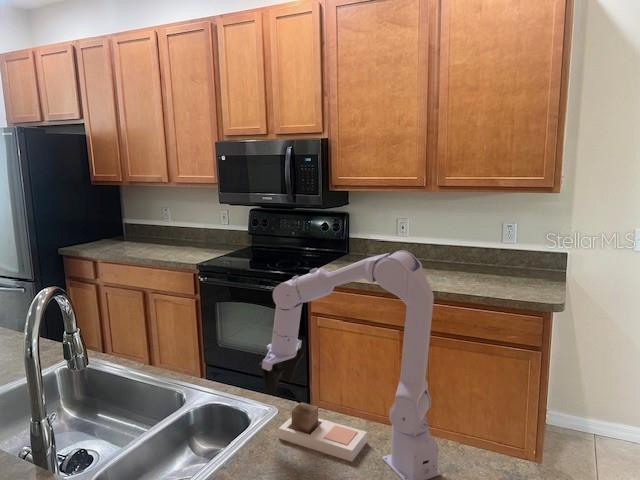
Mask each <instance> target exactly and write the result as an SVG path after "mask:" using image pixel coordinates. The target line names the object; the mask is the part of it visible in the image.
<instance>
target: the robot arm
mask: <svg viewBox="0 0 640 480" xmlns="http://www.w3.org/2000/svg"><path fill="white" fill-rule="evenodd" d="M362 279H364V280H366V281H368V282H369V283H371V284H373V283H376V284H378V286H379V287H381V288H382V289H384V290H386V291H387V292H388V293H391V294H392V295H394V296H396V297H398V298H399V300H401V302H403V303H404V305H405V306H406V309H405V319H404V331H403V342H402V353H401V364H400V365H401V366H400V375H399V381H398V386H397V389H396V392H395V396H394V402H393V404H392V406H390V409H389V412H388V419H389V422H390V424H391V441H390V442H391V443H390V444H391V445H390V446H391V447H390V449H391V450H390V454H387V455H383V456H381V457H382V460H383V461H384V463H385V464H387V466H388V467H389V468H390V469H391V470H392V471H393V472H394V473H395V474H397V476H398V477H399V478H400V479H401V480H430V479H432V478H435V477H438V476H440V475H441V474H442V473H441V471H440V470H439V469H438V465H439V464H438V463H439V462H438V461H439V460H438V458H439V446H438V443H437V441H436V440H435V438H433V436H432V434H431V433H430V430H429V422H428V418H427V416H426V414H427V413H428V411H429V409H430V408H431V405H432V404H431V403H432V399H431V396H430V393H429V383H428V381H427V380H426V378H427V372H428V371H427V370H428V369H427V368H428V360H429V359H428V358H429V350H430V340H431V332H432V331H431V329H432V320H433V319H432V318H433V308H434V301H435V300H434V299H435V297H434V292H433V290H432V287H431V285H430V284H429V281H428V279H427V277H426V274H425V272H424V269H423V264H422V262H421V261H420V260H419V259H418V258H416V257H415V255H414V254H412V253H411V252H409V251H407V250H396V251H394V252H393V253H392V254H390V252H389V253H388V252H387V253H384V254H378V255H375V256H374V255H373V256H370V257H367V258H364V259H361V260H359V261H357V262H354V263H351V264H349V265H346V266H343V267H341V268H338V269H337V270H333V271H329V270H327V269H324V268H320V269H319V268H318V267H315V268H312V269H311V270H309V273H306V274H303V275H301V276H299V275H295V276H293V277H292V278H290V279H289V280H287V281H284V282H281V283H279V284H278V285H276V286H275V287H274V289H273V291H272V299H273V303H274V304H275V311H274V312H275V313H274V320H273V321H274V322H273V329H272V335H271V336H272V337H271V343H269V344H267V345H266V350H268V352H267V353H266V356H265V358H264V359H262V361H261V362H259V363H258V369H259V371H260V374H261V375H262V379H263V383H264V390H265V393H266V394H268V395H270V396H274V395H275V394H276V393H277V389H278V385H279V382H280V378H281V377H282V378H281V379H282V380H285V381H287V382H292V379H293V377H294V375H295V372H296V369H297V366H298V365H299V363H300V361H301V360H302V358H303V357H304V354H305V353H304V351H301V350H300V349H301V348H302V340H300V339H298V337H299V330H300V325H301V324H300V322H301V315H302V307H303V303H308V302H311V301H314V300H317V299H321V298H324V297H326V296H330V295H331V294H332V293H333V291H334V289H335V287H338V286H342V285H344V284H349V283H351V282H355V281H357V280H362ZM278 363H281V367H279V365H278Z"/></svg>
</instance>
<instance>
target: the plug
mask: <svg viewBox="0 0 640 480" xmlns="http://www.w3.org/2000/svg"><path fill="white" fill-rule="evenodd" d="M291 417H292V429H293V430H296V431H299V432H302V433H306V434H309V435H310V434H311V433H312V432H313V431H314V430H315V429H316V428H317V427H318V418H319V406H317V405H314V404H309V403H305V402H300V403H299V404H298V405H297V406H295V407H294V408H293V409H292V410H291Z"/></svg>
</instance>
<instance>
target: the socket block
mask: <svg viewBox="0 0 640 480" xmlns="http://www.w3.org/2000/svg"><path fill="white" fill-rule="evenodd" d="M278 439H279V440H282V441H284V442H289V443H292V444H295V445H298V446H301V447H305V448H307V449H309V450H314V451H316V452H319V453H323V454H327V455H329V456H331V457H332V456H333V457H336V458H339V459H342V460H345V461H348V462H351V463H353V461H354V460H355V459H356V458H357V456H358V454H359V453H360V452H361V451H362V450H363V448H364V447H365V445H366V444H367V441H368V432H367V431H366V430H362V429H359V428H358V429H357V428H354V427H351V426H349V425H344V424H340V423H336V422H333V421H330V420H326V419H322V418H320V417H318V427H317V428H316V429H315V430H314V431H313V432H312V433H311V434H310V435H309V434H306V433H302V432H299V431H296V430H293V429H292V416H291V417H289V418H288V420H286V421H285V422H283V424H281V426H280V427H278Z"/></svg>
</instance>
